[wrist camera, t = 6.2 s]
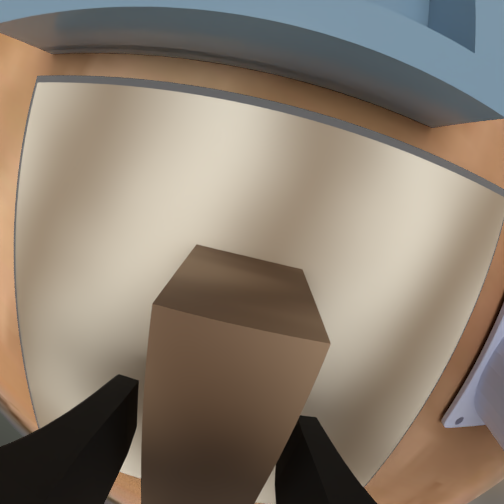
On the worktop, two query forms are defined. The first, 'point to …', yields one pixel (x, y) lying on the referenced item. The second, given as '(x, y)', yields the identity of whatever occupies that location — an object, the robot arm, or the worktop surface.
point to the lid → (237, 280)
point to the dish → (302, 44)
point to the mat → (263, 104)
